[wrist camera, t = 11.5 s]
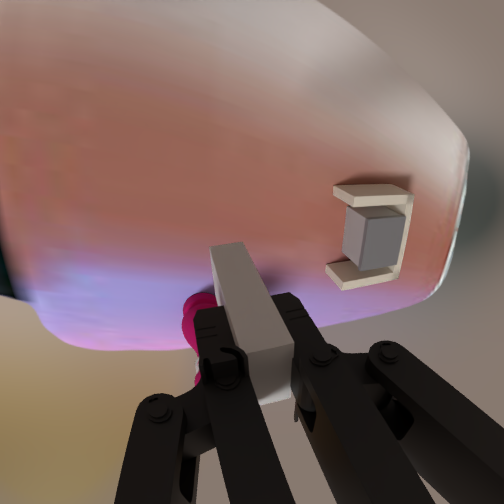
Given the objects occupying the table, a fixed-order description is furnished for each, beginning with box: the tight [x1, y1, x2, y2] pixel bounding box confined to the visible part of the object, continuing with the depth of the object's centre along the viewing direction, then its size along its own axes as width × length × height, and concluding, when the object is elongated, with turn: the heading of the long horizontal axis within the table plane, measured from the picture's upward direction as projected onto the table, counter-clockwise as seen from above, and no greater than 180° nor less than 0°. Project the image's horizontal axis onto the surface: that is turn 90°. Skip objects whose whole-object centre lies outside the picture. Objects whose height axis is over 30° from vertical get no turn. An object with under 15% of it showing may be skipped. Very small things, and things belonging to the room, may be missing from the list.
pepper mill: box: [182, 293, 218, 386], centre depth 41 cm, size 7×7×20 cm
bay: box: [325, 184, 414, 291], centre depth 48 cm, size 15×12×6 cm
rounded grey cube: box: [342, 205, 406, 271], centre depth 48 cm, size 8×7×7 cm
